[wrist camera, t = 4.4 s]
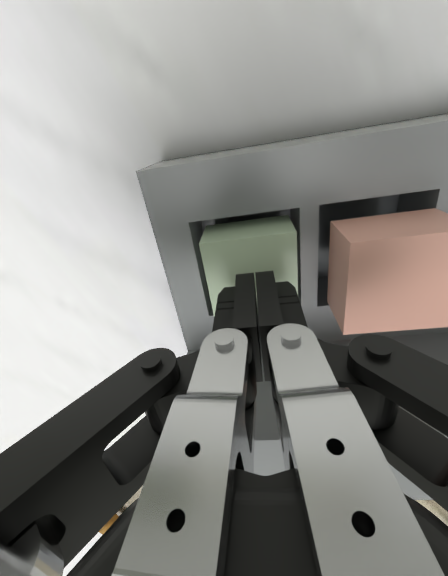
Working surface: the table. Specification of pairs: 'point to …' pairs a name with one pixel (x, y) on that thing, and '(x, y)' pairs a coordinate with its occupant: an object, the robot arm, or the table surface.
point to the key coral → (389, 271)
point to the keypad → (296, 226)
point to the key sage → (248, 252)
